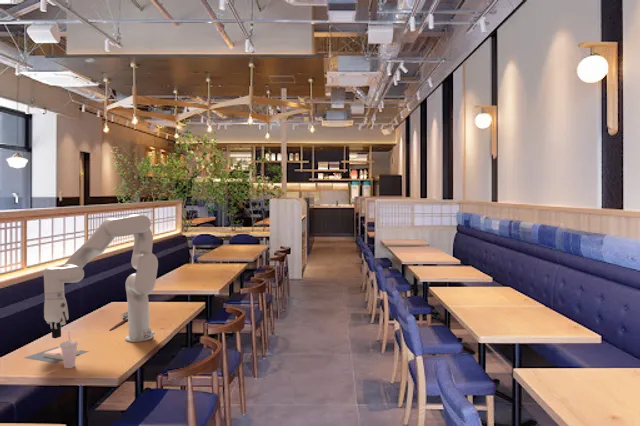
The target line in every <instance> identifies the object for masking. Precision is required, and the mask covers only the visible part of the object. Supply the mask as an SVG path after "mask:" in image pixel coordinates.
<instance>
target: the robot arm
mask: <svg viewBox="0 0 640 426" xmlns="http://www.w3.org/2000/svg"><path fill="white" fill-rule="evenodd" d="M151 224H152V221H151V219H150V218H149V217H148V216H147V215H144V214H135V213H134V214H130V215H128V216H126V217H119V218H117V217H116V218H115V217H110V218H106V219H105V220H103V221H102V222H101V224H100V225H99V226H98V227H97V228H96V230H95V231H94V232H93V233H92V235H90V236H89V238H88V239H87V240H86V241H85V242H84V244H82V245H81V246H80V247H79V248H78V249H77V250H76V251H75V252H73V253H72V255H71V256H70V257H69V258H68V259H67V261H66V262H64V264H63V265H62V266H50V267H47V268H45V269H44V270H43V288H44V303H43V319H44V320H45V321H46V324H48V325H50V329H51V338H52V339H59V338H61V337H62V327H63V326H65V325H66V324H67V322H66V321H68V320H69V318H70V317H69V316H70V315H69V309H68V302H67V299H66V297H65V283H66V284H69V283H71V284H72V283H79V282H81V281H82V280H83V279H84V277H85V270H84V269H83V268H84V267H85V266H86V265H87V264H88V263H89V262H90V261H91V260H93V259H94V258H96V257H99V256H100V255H101V254H103V253H104V252H105V251H106V250H107V248H108V246H110V244H111V243H112V242H113V241H114V240H115V238H118V237H127V236H132V235H133V239H134V241H133V250H132V255H131V260H130V261H131V262H130V263H131V266H132V268H133V269H135V270H136V271H135V272H134V273H131V274H129V276H128V277H127V278H126V280H125V292H126V300H127V312H128V320H127V323H128V324H127V325H128V327H127V328H128V335H126V336H125V341H126V342H129V343H137V342H138V343H139V342H145V341H149V340H150V339H153V337H154V336H155V335H156V331H152V328H151V327H150V309H149V307H150V306H149V305H150V304H149V301H150V300H149V295H150V294H152V293H153V291H154V289H155V286H156V280H157V275H158V268H159V260H158V258H157V256H156V255H155V254H154V253H153V244H154V243H153V242H154V237H153V236H154V235H153V232H152V230H151Z"/></svg>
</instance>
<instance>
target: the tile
mask: <svg viewBox="0 0 640 426" xmlns="http://www.w3.org/2000/svg"><path fill="white" fill-rule="evenodd" d="M59 347H60V346H59ZM79 350H80V349H76V355H78V354H79ZM78 356H79V355H78ZM44 357H49V358H55V359H61V360H63V356H62V350H61V347H60V348H57V349H54V350H51V351H48V352H45V353H44Z"/></svg>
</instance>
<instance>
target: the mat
mask: <svg viewBox="0 0 640 426" xmlns="http://www.w3.org/2000/svg"><path fill="white" fill-rule="evenodd" d="M57 348H60V346H56V347H53V348H50V349H46V350H44V351H40V352H38V353H33V354H31V355H28V356H26V357H25V356H24V359H28V360H35V361H40V362H46V363H52V364H59V363H61V362H64V361H63V360H61V359H55V358H49V357H44V353H45V352H48V351H51V350H54V349H57ZM78 350H79V354H78V355H76V357H78V356H80V355H83V354H86V353H88V352H89V351H87V350H83V349H82V350H81V349H78Z"/></svg>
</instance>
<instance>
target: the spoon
mask: <svg viewBox="0 0 640 426" xmlns="http://www.w3.org/2000/svg"><path fill="white" fill-rule="evenodd" d="M121 317H123V318H124V319H123V320H121V321H120V322H119V323H117V324H115V325H114V326H112V328H110V329H109V330H108V331H110V332H111V331H113V330H115V329H118V328H119V327H120V326H122V325H123V324H124V323H125V322H126V321H128V311H127V312H124V313H122V314H121ZM121 324H122V325H121ZM118 326H119V327H118Z"/></svg>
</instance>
